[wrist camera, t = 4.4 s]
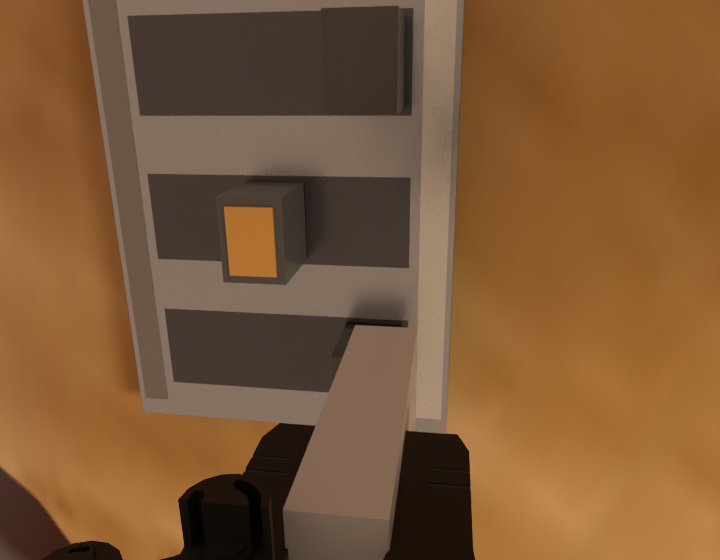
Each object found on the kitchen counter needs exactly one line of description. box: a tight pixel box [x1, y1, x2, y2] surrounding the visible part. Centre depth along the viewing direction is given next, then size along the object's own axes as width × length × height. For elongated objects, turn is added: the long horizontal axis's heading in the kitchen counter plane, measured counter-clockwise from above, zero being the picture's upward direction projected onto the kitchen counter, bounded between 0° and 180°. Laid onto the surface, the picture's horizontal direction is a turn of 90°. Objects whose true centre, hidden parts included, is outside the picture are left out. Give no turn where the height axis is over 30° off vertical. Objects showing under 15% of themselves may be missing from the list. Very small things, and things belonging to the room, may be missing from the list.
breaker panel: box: [83, 0, 464, 434], centre depth 30 cm, size 24×18×6 cm
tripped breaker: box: [216, 182, 307, 285], centre depth 29 cm, size 4×3×4 cm
